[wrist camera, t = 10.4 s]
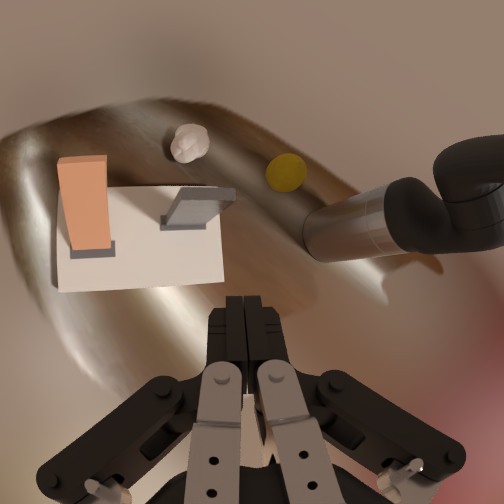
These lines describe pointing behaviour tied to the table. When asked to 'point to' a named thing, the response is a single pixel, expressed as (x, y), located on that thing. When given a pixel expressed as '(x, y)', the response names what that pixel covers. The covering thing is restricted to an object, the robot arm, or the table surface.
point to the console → (141, 246)
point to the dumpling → (189, 143)
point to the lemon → (286, 172)
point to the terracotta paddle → (85, 200)
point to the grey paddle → (198, 205)
